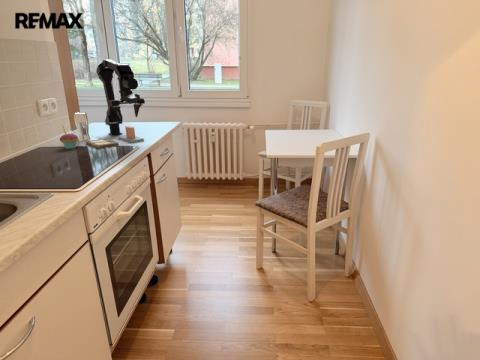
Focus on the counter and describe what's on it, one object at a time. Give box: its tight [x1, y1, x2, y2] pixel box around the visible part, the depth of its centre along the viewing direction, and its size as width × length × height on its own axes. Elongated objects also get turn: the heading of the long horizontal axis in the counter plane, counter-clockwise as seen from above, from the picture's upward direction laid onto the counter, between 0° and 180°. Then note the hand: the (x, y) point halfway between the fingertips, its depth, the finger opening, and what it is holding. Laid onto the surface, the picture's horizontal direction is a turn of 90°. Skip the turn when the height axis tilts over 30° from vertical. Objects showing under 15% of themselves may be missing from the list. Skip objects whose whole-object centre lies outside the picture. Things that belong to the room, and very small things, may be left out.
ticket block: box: [85, 138, 120, 150], centre depth 176 cm, size 16×11×2 cm
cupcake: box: [59, 124, 79, 150], centre depth 169 cm, size 9×8×12 cm
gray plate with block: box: [117, 125, 145, 144], centre depth 186 cm, size 16×7×8 cm, turn 43°
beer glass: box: [73, 112, 91, 142], centre depth 186 cm, size 7×7×15 cm
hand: (128, 118), depth 183 cm, fingers open, 9 cm apart
